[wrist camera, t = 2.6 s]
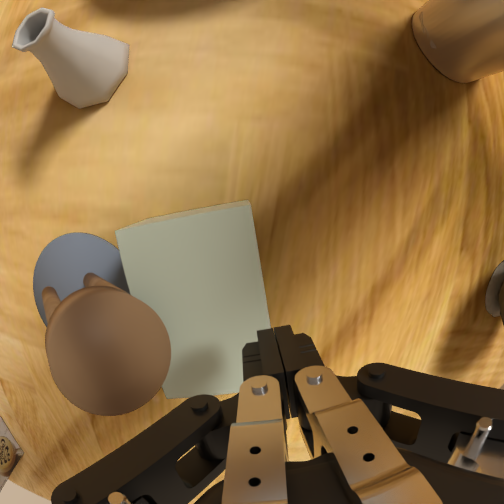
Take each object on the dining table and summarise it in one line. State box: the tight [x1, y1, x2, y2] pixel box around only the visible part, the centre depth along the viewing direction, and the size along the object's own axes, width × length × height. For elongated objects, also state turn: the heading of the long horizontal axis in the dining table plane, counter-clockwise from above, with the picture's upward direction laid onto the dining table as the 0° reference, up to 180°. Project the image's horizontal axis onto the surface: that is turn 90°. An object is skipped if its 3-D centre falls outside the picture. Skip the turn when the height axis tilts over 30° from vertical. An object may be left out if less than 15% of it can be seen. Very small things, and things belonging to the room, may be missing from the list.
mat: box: [33, 233, 131, 327], centre depth 24 cm, size 13×13×1 cm
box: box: [115, 200, 271, 399], centre depth 21 cm, size 8×12×6 cm, turn 9°
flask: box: [12, 8, 129, 109], centre depth 15 cm, size 7×7×10 cm
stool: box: [42, 273, 171, 416], centre depth 17 cm, size 12×7×13 cm, turn 99°
